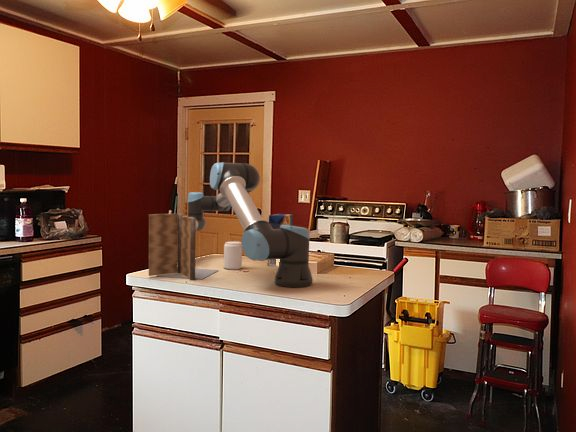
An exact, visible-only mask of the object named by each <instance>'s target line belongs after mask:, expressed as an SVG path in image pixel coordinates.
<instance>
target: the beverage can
mask: <svg viewBox="0 0 576 432" xmlns="http://www.w3.org/2000/svg"><path fill="white" fill-rule="evenodd" d="M242 247H243V245H242V242H241V241H226V242H225V243H224V245H223V268H224V269H226V270H230V271H233V270H234V271H235V270H240V269H241V268H242V266H243V248H242Z"/></svg>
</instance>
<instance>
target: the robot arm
mask: <svg viewBox="0 0 576 432" xmlns="http://www.w3.org/2000/svg"><path fill="white" fill-rule="evenodd" d="M260 181H261V176H260V173H259V171H258V169H257V168H256V167H255V166H253V164H249V163H240V162H224V161H222V162H216V163H214V164H213V165H212V166H211V169H210V175H209V186H210V188H211V189H212V190H214V191H219V193H218V194H217V195H210V196H209V195H204V193H203V192H200V191H193V192H192V191H190V192H188V194H187V201H186V202H187V217H192V218H196V232H200V231H202V230H203V229H204V228H205V227H206V224H207V223H206V218H204V212H224V211H225V212H226V211H230V209H231V208H232V210H233V212H234V214H235V216H236V218H237V219H238V221H239V223H240V225H241V226H242V229H243V232H242V233H243V234H242V236H241V241H240V242H241V244H242V252H243V253H244V255H245V256H246V258H248V259H249V260H252V261H259V262H260V261H268V260H270V259H280V262H279V267H277V269H276V273H275V276H274V284H275V285H277V286H280V287H286V288H306V287H310V286H312V285H313V275H312V272H311V269H310V264H309V262H310V261H309V259H310V240H311V238H310V230H309V229H308V228H306V227H302V226H298V225H297V226H296V225H292V226H289V225H281V226H280V229H273V228H272V227H271V225H270V223H269V220H265V219H263V217H262V215H261V214H260V211H259V209H258V208H257V206H256V204H255V203H254V201H253V199H252V198H251V196H250V194H249V193H252V192H253V191H255V190H256V189H257V188H258V187H259V184H260ZM177 232H178V228H177Z"/></svg>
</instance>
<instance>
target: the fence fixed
mask: <svg viewBox="0 0 576 432" xmlns="http://www.w3.org/2000/svg"><path fill="white" fill-rule="evenodd" d="M177 214H178V231H177V273H181V274H182V275H185V276H187V277H188V278H189V280H190V281H195V280H196V279H195V269H196V239H197V238H196V235H197V234H196V232H197V231H196V218H192V217H188V215H184V213H183V212H177Z"/></svg>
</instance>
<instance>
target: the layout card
mask: <svg viewBox="0 0 576 432" xmlns="http://www.w3.org/2000/svg"><path fill="white" fill-rule="evenodd" d="M217 272H219V269H207V268H206V269H205V268H195V280H204V279H206V278H208V277H210V276H212V275H214V274H216V273H217ZM155 276H156V277H160V278H173V279H175V278H176V279H189V278H188V277H187V276H185V275H182V274H181V273H171V274H162V275H155ZM189 280H190V279H189Z"/></svg>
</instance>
